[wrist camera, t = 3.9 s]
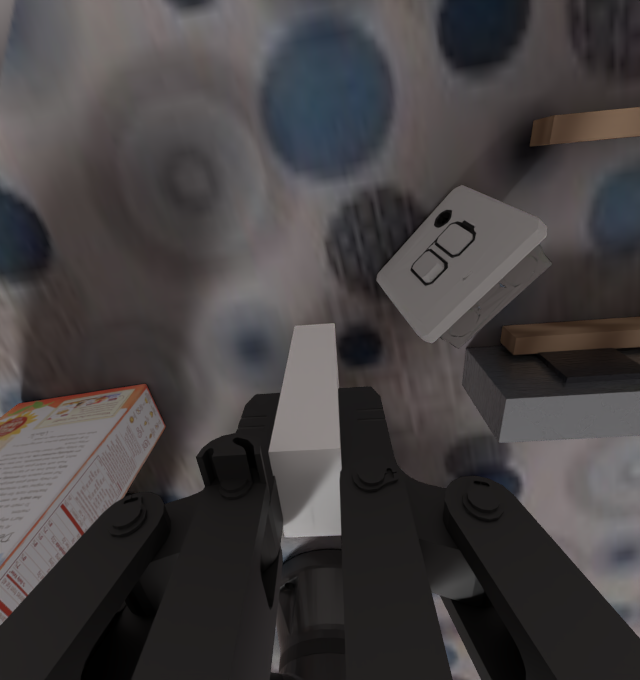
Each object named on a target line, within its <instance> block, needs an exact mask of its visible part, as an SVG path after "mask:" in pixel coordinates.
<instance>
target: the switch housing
mask: <svg viewBox="0 0 640 680" xmlns="http://www.w3.org/2000/svg"><path fill="white" fill-rule="evenodd" d="M462 386H463V387H464V389H465V390H466V392H467V394H468V395H469V397H470V398H471V400H472V401H473V403H474V405H475V406H476V408H477V409H478V411H479V412H480V414H481V416H482V417H483V419H484V420H485V422H486V424H487V425H488V427H489V428H490V430H491V431H492V433H493V435H494V436H495V438H496V439H497V441H498V442H499V443H505V442H524V441H544V440H563V439H582V438H602V437H621V436H640V347H631V348H615V349H614V348H599V349H583V350H568V351H552V352H538V353H537V354H522V355H513V354H512V353H511V352H510V351H509V350H508V349H507V348H506V347H505V346H492V347H477V348H466V354H465V363H464V373H463V382H462Z"/></svg>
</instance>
